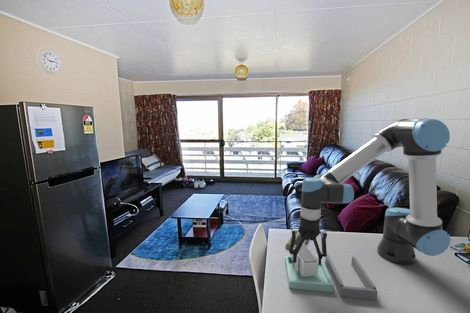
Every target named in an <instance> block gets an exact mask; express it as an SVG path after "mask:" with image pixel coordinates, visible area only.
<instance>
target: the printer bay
mask: <svg viewBox="0 0 470 313" xmlns="http://www.w3.org/2000/svg"><path fill="white" fill-rule="evenodd" d="M324 258H325V260H324V264H325V266H326V269H327V271H328V273H329V275H330V278H331V280H332V282H333V284H334V287H335V289H336V291H337V293H338V295H339V297H340V298H350V299H351V298H352V299H359V300H360V299H361V300H371V301H373V300H374V301H378V300H377V298H378V289H377V287H376V286H375V283H374V282H373V281H372V279H371V278H370V277H369V275H368V274H367V272H366V271H365V269H364V268H363V267H362V265H361V263H360V261H358V259H357V258H356V257H355V256H351V264H350V266H351V268H352V269H353V270H354V272H355V273H356V275H357V276H358V278H359V279H360V281H361V283H362V285H363V287H361V286H360V287H358V286H347V285H344V282H343V281H342V279H341V277H340V275H339V273H338V272H337V269H336V267H335V266H334V263H333V261H332V259H331V257H330V255H329V254H327V256H326V257H324Z"/></svg>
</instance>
